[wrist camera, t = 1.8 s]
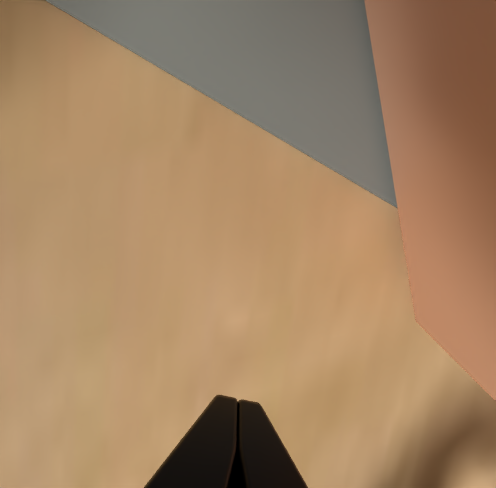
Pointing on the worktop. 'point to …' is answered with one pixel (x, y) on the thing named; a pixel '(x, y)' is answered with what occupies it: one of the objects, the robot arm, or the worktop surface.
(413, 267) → the terracotta fence panel
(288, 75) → the slate layout card
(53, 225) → the worktop surface
